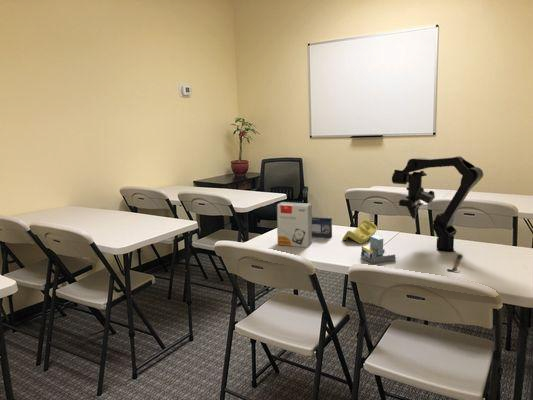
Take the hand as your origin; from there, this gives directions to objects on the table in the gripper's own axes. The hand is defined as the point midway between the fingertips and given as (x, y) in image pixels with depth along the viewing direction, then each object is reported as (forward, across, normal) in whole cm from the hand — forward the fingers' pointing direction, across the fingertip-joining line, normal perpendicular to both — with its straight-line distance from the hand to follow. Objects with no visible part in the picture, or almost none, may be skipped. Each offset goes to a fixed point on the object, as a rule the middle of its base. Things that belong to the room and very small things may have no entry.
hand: (413, 218), depth 191 cm
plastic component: (+12, -8, +23) cm, 27 cm away
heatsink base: (+12, -31, 0) cm, 33 cm away
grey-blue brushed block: (+10, -33, +1) cm, 35 cm away
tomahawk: (+13, -15, -27) cm, 34 cm away
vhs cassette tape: (+12, -20, +44) cm, 50 cm away
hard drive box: (+12, -36, +42) cm, 57 cm away
